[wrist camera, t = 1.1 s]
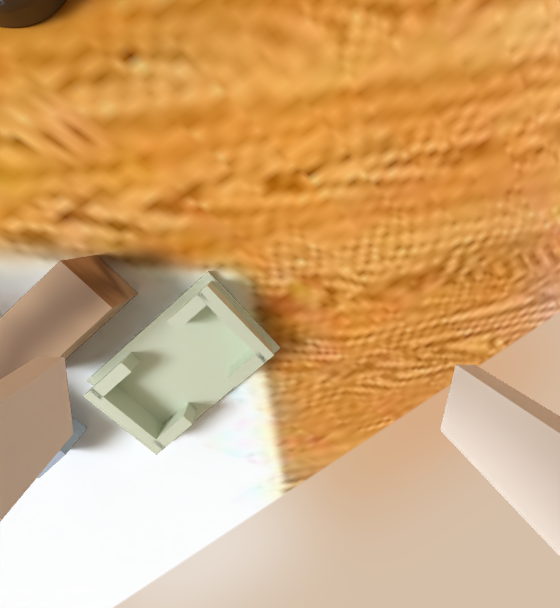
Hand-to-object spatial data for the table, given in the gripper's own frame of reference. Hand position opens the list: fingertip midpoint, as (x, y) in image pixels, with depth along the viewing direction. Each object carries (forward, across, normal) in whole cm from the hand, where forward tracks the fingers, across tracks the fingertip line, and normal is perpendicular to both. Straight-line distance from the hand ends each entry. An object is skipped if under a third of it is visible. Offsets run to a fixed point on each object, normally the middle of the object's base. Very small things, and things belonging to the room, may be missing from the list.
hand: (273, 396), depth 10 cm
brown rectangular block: (+27, -21, -6) cm, 35 cm away
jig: (+27, -8, -12) cm, 30 cm away
